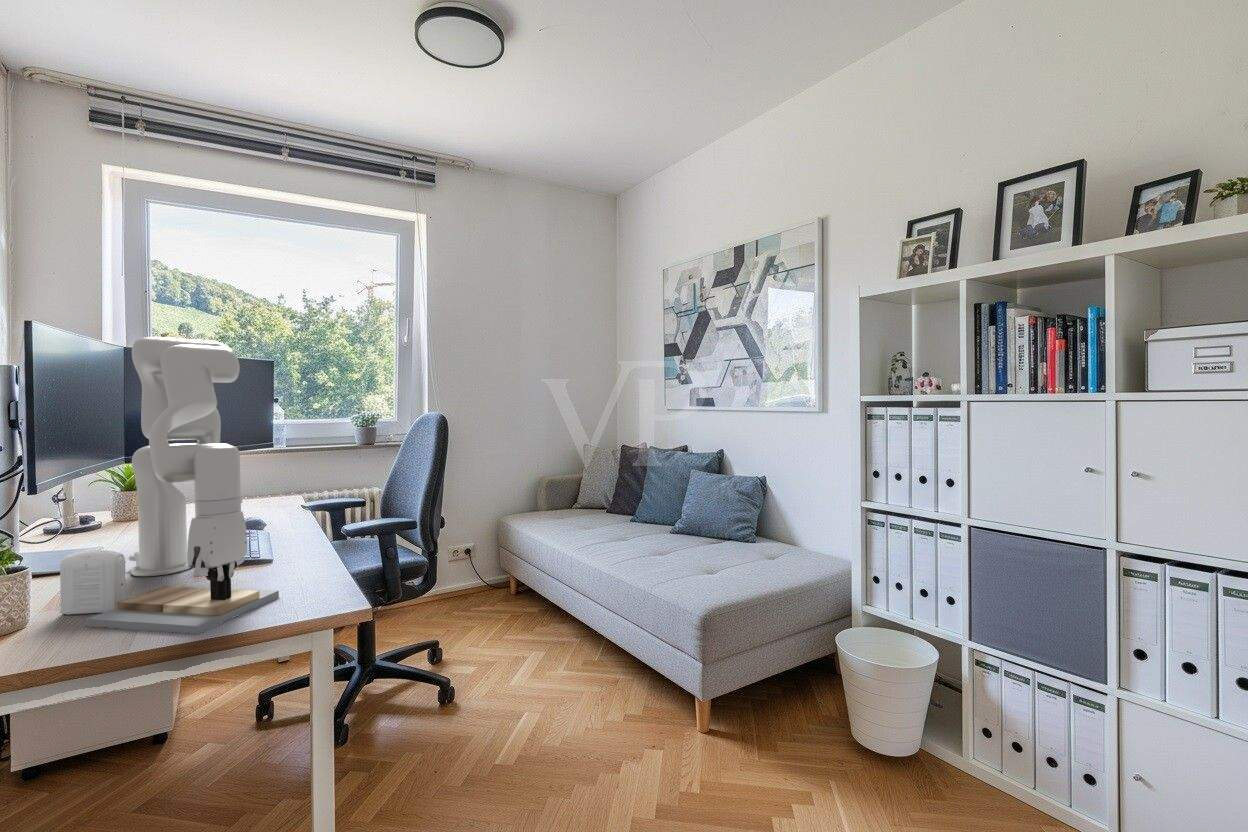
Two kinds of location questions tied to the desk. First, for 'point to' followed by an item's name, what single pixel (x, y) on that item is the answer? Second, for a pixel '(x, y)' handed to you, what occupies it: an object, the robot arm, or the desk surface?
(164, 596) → the flat wooden square
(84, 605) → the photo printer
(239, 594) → the oak plank
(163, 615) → the floor board
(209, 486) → the robot arm
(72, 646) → the desk surface
